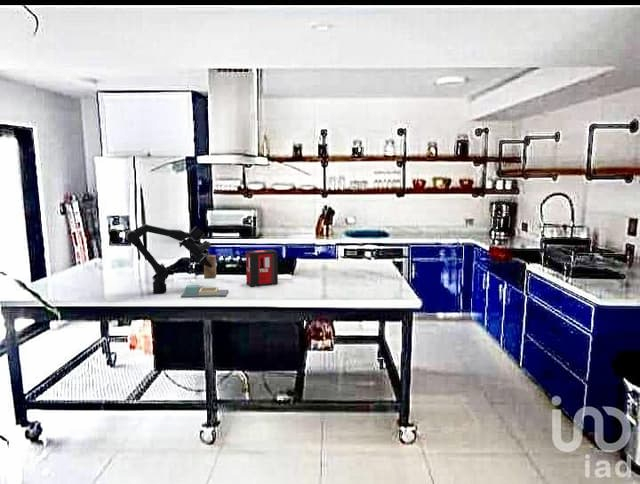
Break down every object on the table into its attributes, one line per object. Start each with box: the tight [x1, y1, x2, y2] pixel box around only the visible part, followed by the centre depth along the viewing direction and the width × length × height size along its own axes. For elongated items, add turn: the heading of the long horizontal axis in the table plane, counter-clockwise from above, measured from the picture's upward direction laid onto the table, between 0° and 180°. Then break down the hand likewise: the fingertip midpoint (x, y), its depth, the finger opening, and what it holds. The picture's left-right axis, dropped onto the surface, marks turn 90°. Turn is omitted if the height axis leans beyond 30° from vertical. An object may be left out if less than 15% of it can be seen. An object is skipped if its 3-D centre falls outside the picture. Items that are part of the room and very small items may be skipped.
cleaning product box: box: [245, 249, 279, 288], centre depth 306 cm, size 16×9×20 cm, turn 115°
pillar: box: [203, 254, 217, 280], centre depth 293 cm, size 6×6×12 cm
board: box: [180, 284, 229, 299], centre depth 282 cm, size 24×12×5 cm, turn 95°
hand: (212, 266), depth 293 cm, fingers closed on pillar, 6 cm apart
